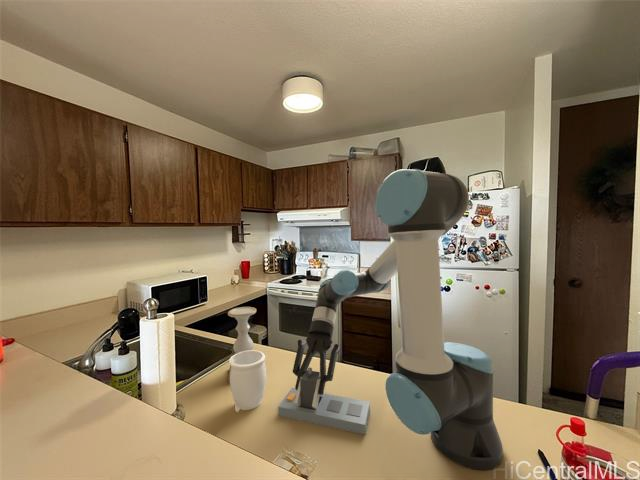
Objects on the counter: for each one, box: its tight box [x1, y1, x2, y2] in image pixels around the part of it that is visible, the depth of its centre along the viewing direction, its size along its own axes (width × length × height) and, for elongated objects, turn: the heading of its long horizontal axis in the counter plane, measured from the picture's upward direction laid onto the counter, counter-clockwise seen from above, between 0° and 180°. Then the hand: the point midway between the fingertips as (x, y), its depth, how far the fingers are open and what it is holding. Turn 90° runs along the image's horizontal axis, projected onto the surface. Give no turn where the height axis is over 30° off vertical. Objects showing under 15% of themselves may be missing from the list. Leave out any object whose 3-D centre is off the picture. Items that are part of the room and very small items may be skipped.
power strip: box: [277, 387, 371, 435], centre depth 72 cm, size 24×9×4 cm, turn 72°
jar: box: [228, 349, 267, 413], centre depth 78 cm, size 11×10×15 cm
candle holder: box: [227, 306, 257, 385], centre depth 96 cm, size 11×11×24 cm
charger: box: [300, 367, 320, 410], centre depth 73 cm, size 4×5×12 cm
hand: (305, 405), depth 69 cm, fingers closed on power strip, 4 cm apart
